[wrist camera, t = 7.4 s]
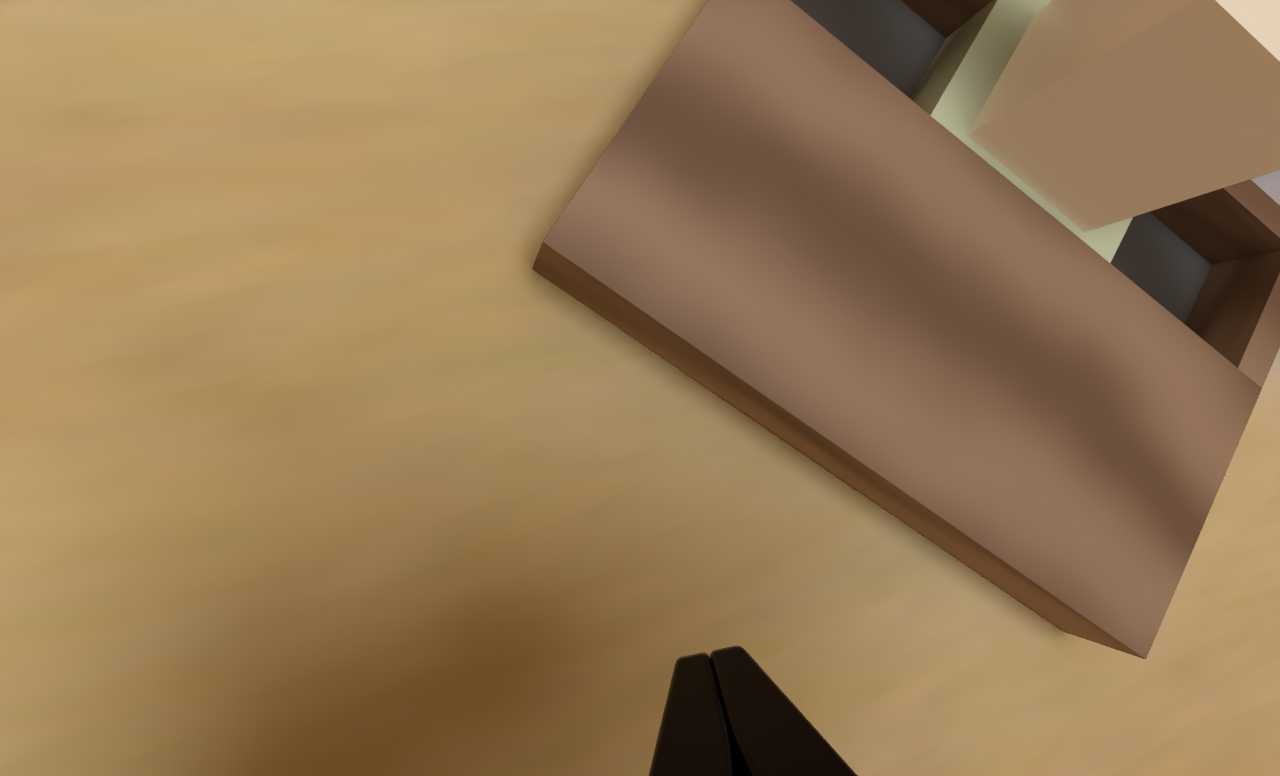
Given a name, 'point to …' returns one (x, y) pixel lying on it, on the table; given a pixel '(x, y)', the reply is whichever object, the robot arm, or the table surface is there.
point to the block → (1137, 103)
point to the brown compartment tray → (932, 297)
